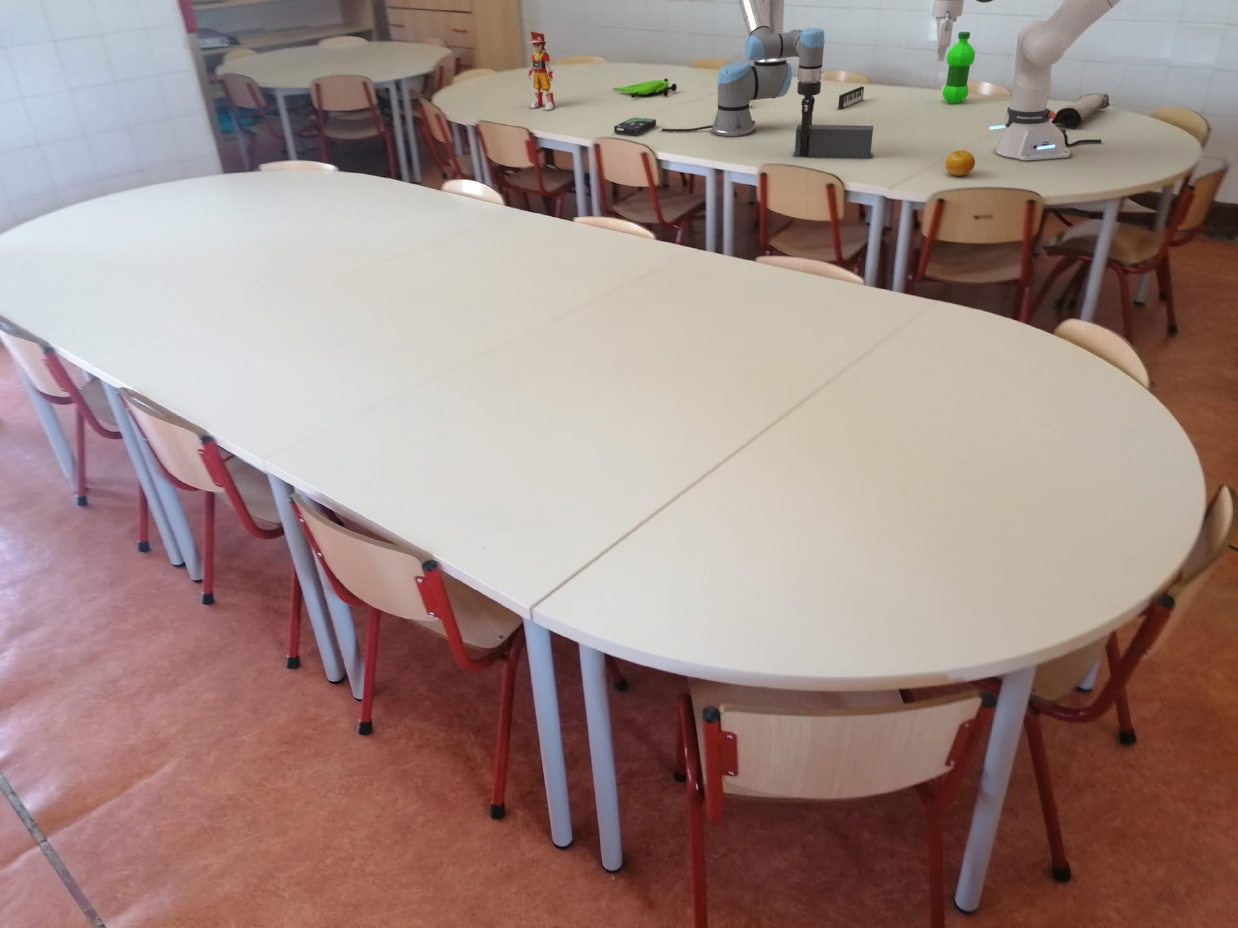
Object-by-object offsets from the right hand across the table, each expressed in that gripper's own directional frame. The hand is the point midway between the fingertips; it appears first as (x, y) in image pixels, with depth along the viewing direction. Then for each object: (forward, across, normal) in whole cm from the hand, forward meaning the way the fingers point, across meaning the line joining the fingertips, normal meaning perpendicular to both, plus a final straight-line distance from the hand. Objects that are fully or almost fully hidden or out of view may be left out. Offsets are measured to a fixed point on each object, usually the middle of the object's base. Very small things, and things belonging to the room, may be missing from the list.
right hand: (940, 57), depth 283 cm
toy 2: (+30, +85, +121) cm, 151 cm away
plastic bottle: (+30, +72, -10) cm, 79 cm away
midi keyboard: (+30, +67, +29) cm, 79 cm away
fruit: (+30, -21, -9) cm, 38 cm away
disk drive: (+30, +23, +107) cm, 114 cm away
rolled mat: (+30, +50, -53) cm, 79 cm away
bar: (+30, -3, +31) cm, 43 cm away
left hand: (+30, -3, +40) cm, 50 cm away
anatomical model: (+30, +64, +74) cm, 103 cm away
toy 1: (+30, +56, +157) cm, 169 cm away
